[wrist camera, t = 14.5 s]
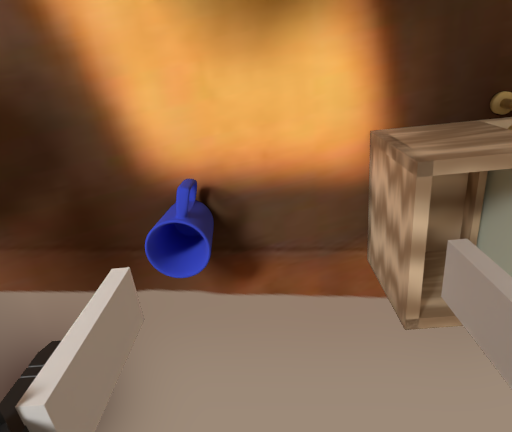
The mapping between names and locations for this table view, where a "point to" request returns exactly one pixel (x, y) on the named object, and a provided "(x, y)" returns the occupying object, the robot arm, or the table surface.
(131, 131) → the table surface
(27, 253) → the table surface
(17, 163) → the table surface
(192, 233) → the mug
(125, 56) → the table surface
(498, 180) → the door
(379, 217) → the cabinet
